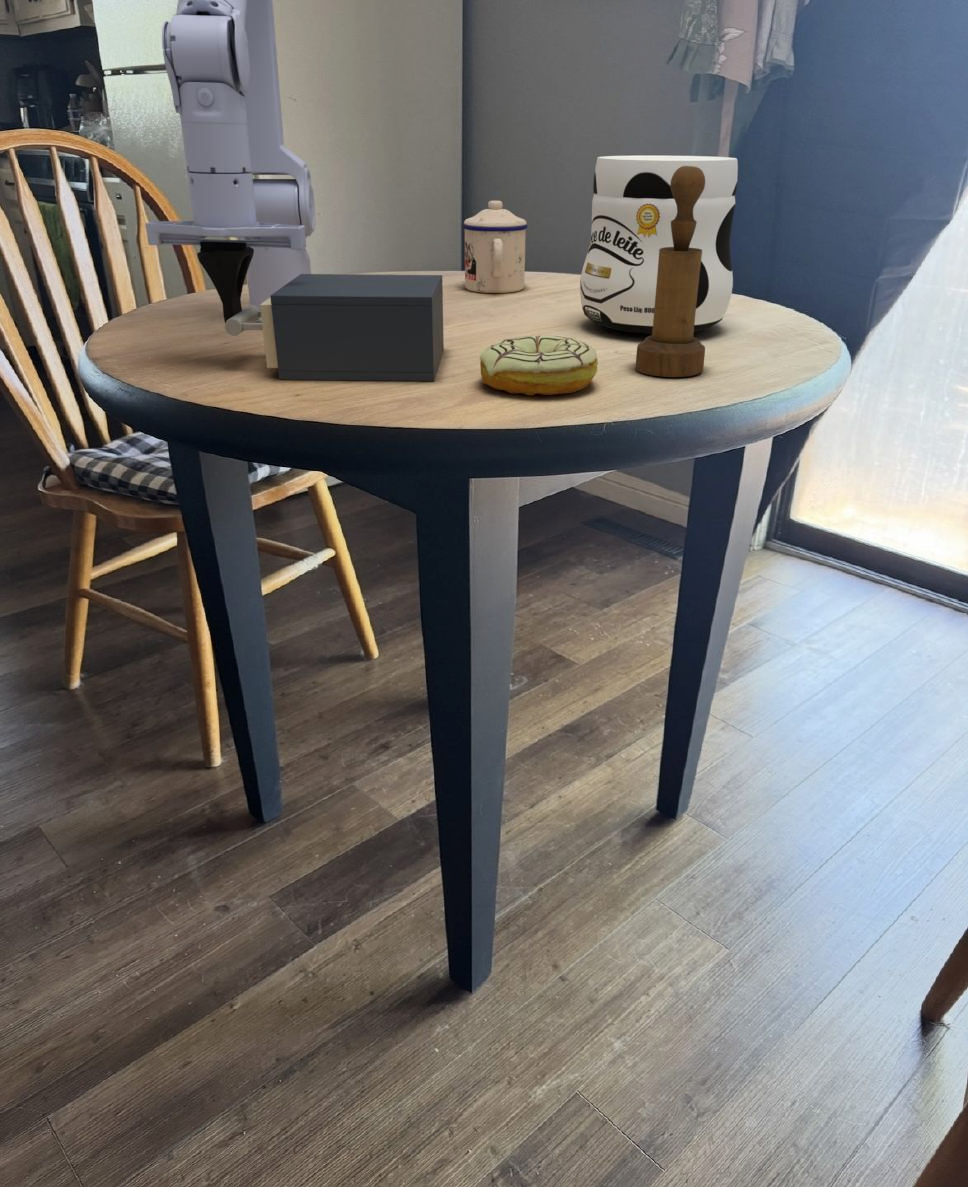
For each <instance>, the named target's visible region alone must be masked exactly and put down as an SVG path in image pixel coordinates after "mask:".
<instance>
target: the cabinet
mask: <svg viewBox="0 0 968 1187" xmlns="http://www.w3.org/2000/svg"><path fill="white" fill-rule="evenodd" d="M443 285H444V284H443V275H441V274H363V273H362V274H361V273H360V274H359V273H358V274H357V273H355V274H353V273H352V274H347V273H345V274H343V273H337V274H336V273H335V274H334V273H332V274H331V273H311V274H300V275H299V276H297V277H296V278H294V279H293V280H292V281H290V282H289V283H287V284H286V285H285V286H283V287H282V288H280V289H279V290H278V291H276V292H275V293H273V294H272V295H270V298H271V304H272V305H271V307H272V316H273V326H274V335H275V344H276V353H277V363H278V368H277V370H278V379H279V380H292V381H294V380H299V381H376V382H377V381H378V382H379V381H381V382H386V381H387V382H388V381H390V382H392V381H393V382H435V379H436V376H437V373H438V369H439V367H440V363H441V360H442V356H443V354H444V350H445V348H444V346H445V345H444V344H445V343H444V292H443V289H444V288H443Z"/></svg>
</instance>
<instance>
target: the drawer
mask: <svg viewBox="0 0 968 1187" xmlns="http://www.w3.org/2000/svg"><path fill="white" fill-rule="evenodd" d="M271 305H272V304H271V298H269V299H267V300H266V301H264V302H263V303H262V304H260V310H261V311H260V310H259V309H258V308H257V307H256V306H254V305H250V304H249V305H247V306H246V307H244V308H242V310H241V311H240V312H239V313H237V314H236V315H234V316H233V317H231V318H230V319H228V320H227V321H226V323H225V322H224V329H225V331H226V332H227V334H228V335H229V336H232V337H236V336H239V335H240V334H241V333H243V332H244V331H262V334H263V343H264V352H265V362H266V367H267V369H278V363H277V353H276V344H275V335H274V326H273V316H272V307H271ZM259 318H262V322H256V321H257V320H258V319H259Z"/></svg>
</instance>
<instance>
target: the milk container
mask: <svg viewBox="0 0 968 1187" xmlns="http://www.w3.org/2000/svg"><path fill="white" fill-rule="evenodd" d="M738 162H739V161H738V158H736V157H729V156H728V157H727V156H712V155H711V156H709V155H707V156H706V155H664V154H663V155H648V154H647V155H644V154H643V155H640V154H639V155H605V156H604V155H603V156H597V159H596V163H595V168H594V174H593V183H592V184H593V185H592V186H593V188H592V189H593V190H592V191H593V196H592V201H591V229H590V230H591V231H590V240H589V246H588V250H587V253H586V256H585V260H584V263H583V266H582V270H581V273H580V278H579V295H580V304H581V308H582V312H583V314H584V316H586V318H588V319H589V320H590V321H591V322H593V323H594V324H595V325H598V326H601V327H604V328H608V329H611V330H614V331H619V332H626V333H632V334H633V333H634V334H643V335H652V331H653V319H654V307H655V296H656V284H657V273H658V260H659V249H660V248H665V247H674V245H673V238H672V231H671V221H672V220H674V219H675V217H676V215H677V205H676V202H675V200H674V197H673V195H672V192H671V187H670V184H671V179H672V176H673V174H674V173H675V171H676V170H677V169H678V168H680V167H682V166H693V167H698V168H700V169H701V170H702V171H703V173H704V176H705V187H704V190H703V192H702V194H701V196H700V197H699V199H698V201H697V202H696V204H695V205H694V208H693V217H694V220H695V221H696V222H697V223H696V228H695V231H694V234H693V237H692V240H691V242H690V245H689V248H697V249H701V250H702V257H701V266H700V274H699V283H698V293H697V302H696V313H695V323H694V332H700V331H703V330H706V329H710V328H712V327H713V326H715V325H717V324H718V323H719V322H721V321H722V320H723V319H724V317H725V315H726V314H727V311H728V308H729V305H730V301H731V298H732V293H733V288H734V275H733V274H734V273H733V265H732V258H731V234H732V227H733V221H734V216H735V215H734V214H735V208H736V192H737V188H738V187H737V186H738V172H739V164H738Z"/></svg>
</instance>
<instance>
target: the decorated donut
mask: <svg viewBox="0 0 968 1187" xmlns="http://www.w3.org/2000/svg"><path fill="white" fill-rule="evenodd" d="M479 360H480V361H479V362H480V376H481V380H482V382H483V384H484V385H488V386H489V387H491V388H493V389H495V390H501V391H505V392H507V393H509V394H523V395H526V396H535V395H536V394H539V395H541V396H553V395H564V394H573V393H576V392H577V391H581V390H583V389H585V388H587V387H588V386H589V384H590V383H591V382H592V381H593V379H594V378H595V376H596V374H597V373H598V365H599V364H598V363H599V362H598V361H599V360H598V355H597V352H596V350H595V348H594V347H593V346H591V345H589V344H588V343H586V342H584V341H582V340H578V339H576V338H573V337H567V336H566V337H565V336H558V335H525V336H519V337H513V338H506V339H503V340H501V341H499V342H496V343H493V344H491V345H490V346H488V347H487V348H485V349H484V350H483V351H482V352H480V355H479Z"/></svg>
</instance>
